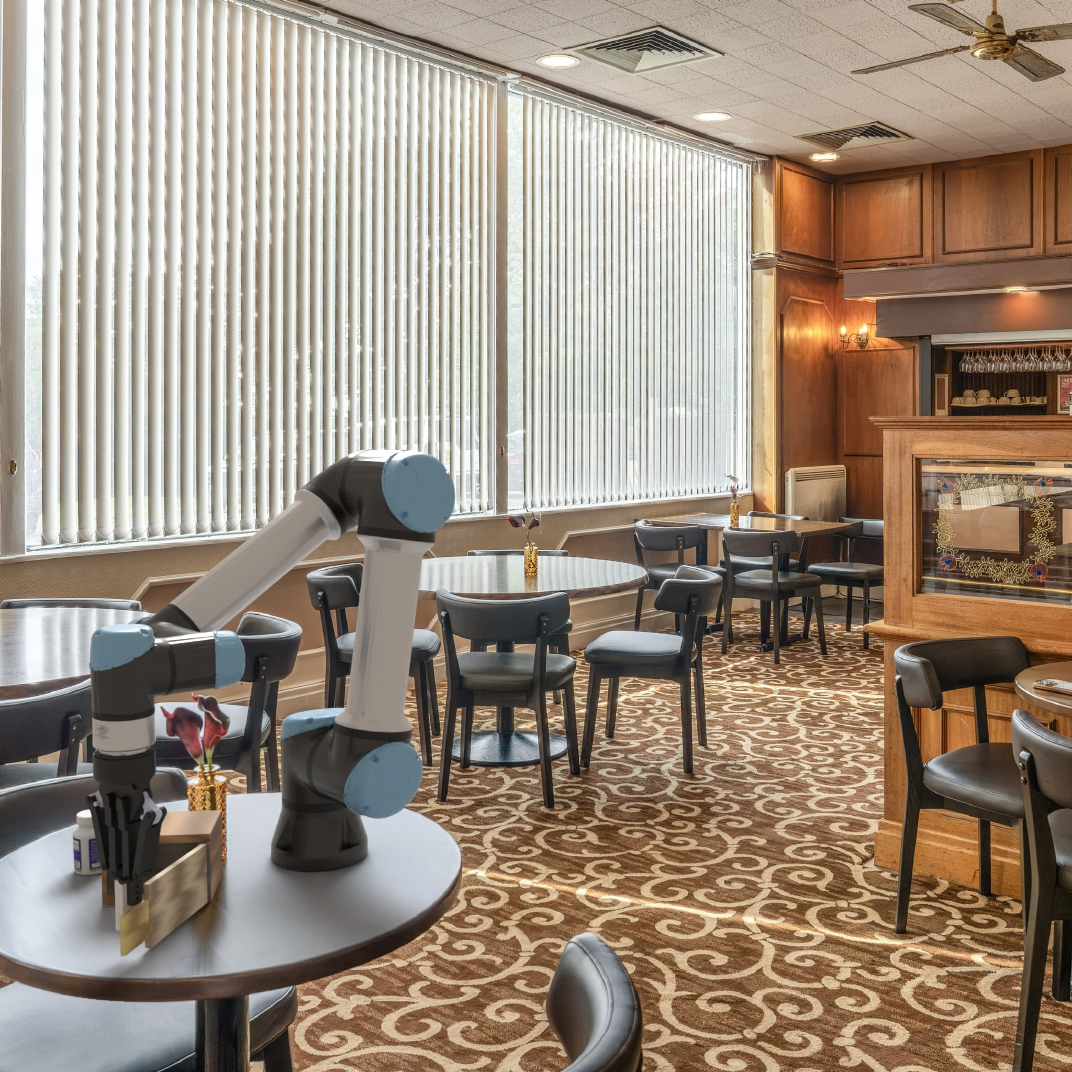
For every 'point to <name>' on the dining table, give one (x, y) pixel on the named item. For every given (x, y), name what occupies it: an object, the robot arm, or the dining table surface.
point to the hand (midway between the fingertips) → (128, 926)
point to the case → (181, 846)
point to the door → (168, 900)
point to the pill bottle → (85, 846)
